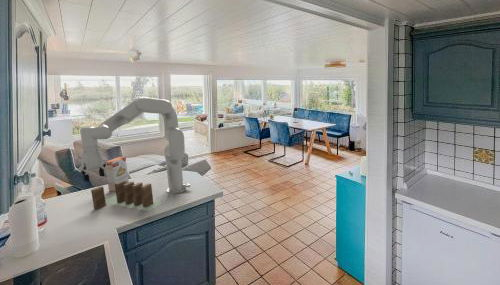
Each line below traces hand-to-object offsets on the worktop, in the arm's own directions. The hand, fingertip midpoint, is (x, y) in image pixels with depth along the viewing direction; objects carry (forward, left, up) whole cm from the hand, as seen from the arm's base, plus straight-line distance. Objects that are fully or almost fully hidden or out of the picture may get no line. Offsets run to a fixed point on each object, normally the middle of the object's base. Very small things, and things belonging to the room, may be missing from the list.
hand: (94, 178), depth 157 cm
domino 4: (-22, 0, -17) cm, 28 cm away
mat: (-17, -3, -18) cm, 25 cm away
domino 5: (-28, +3, -17) cm, 33 cm away
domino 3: (-17, -3, -17) cm, 24 cm away
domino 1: (0, 0, -18) cm, 18 cm away
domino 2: (-11, -6, -17) cm, 22 cm away
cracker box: (-1, -32, -18) cm, 37 cm away
